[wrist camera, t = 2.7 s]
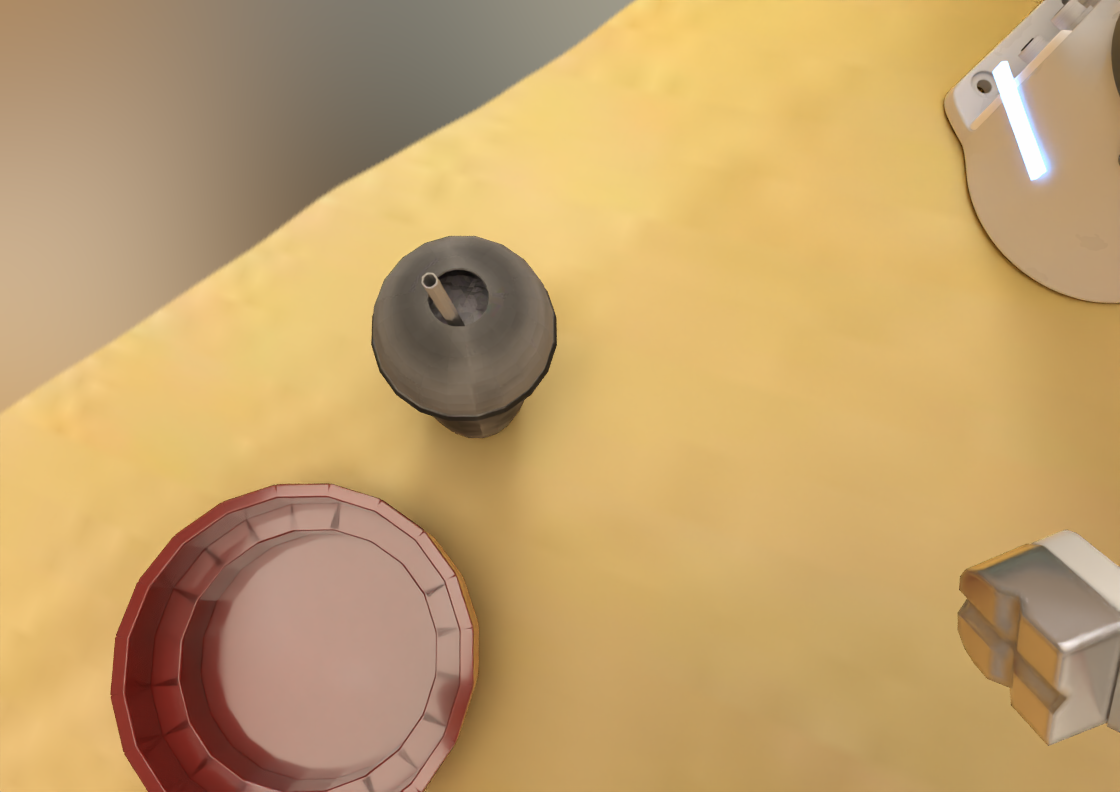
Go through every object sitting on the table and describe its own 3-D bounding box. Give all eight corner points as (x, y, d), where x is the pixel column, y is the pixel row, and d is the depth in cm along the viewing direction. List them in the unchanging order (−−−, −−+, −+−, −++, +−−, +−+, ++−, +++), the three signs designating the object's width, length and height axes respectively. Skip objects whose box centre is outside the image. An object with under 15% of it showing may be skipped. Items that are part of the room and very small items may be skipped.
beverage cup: (571, 366, 46) (611, 198, 27) (507, 490, 45) (501, 407, 25) (447, 305, 47) (399, 97, 27) (380, 425, 45) (278, 296, 26)
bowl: (299, 441, 45) (267, 417, 39) (539, 612, 44) (542, 614, 38) (101, 694, 42) (34, 710, 36) (352, 886, 40) (325, 935, 35)
